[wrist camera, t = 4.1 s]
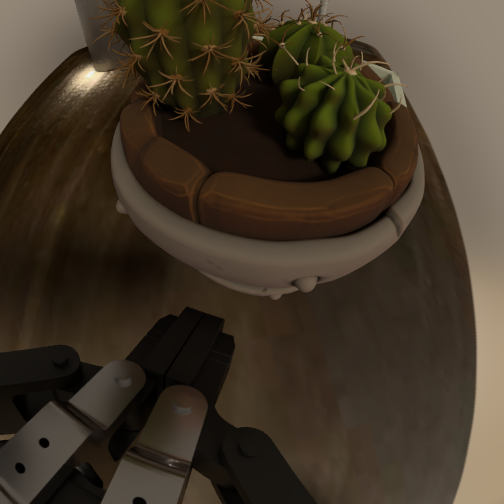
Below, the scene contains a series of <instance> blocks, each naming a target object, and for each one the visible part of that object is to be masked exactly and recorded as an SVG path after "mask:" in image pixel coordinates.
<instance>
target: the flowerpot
mask: <svg viewBox="0 0 504 504" xmlns="http://www.w3.org/2000/svg"><path fill="white" fill-rule="evenodd" d="M108 1H113V0H107V1H105V0H103V2H104V3H105V4H106V5H107V7H110V8H112V9H107V7H106V8H103V7H100V6H97V5H96V6H97V7H99V8H100V9H103V10H102V11H101V12H103V11H104V10H107V11H110V15H106V16H101V17H95V18H89V19H100V18H106V17H109V19H108V20H107V21H106V22H105V23H104V24H103V25H101V24H100V23H99V22H98V23H99V25H100V26H102V27H104V28H106V29H109V30H101V31H109V32H106V33H104V34H103V35H101V36H100V37H99V38H101V37H102V36H104V35H105V34H107V35H106V36H108V35H109V34H111V33H112V34H111V36H112V37H111V36H110V38H109V40H108V43H109V46H108V50H109V48H110V43H111V39H113V36H114V35H115V34H116V39H117V40H116V41H115V42H113V43H112V44H111V46H112V45H113V44H115V43H117V42H119V41H122V40H123V41H124V43H123V45H122V48H123V46H124V47H125V44H127V46H128V47H129V49H130V52H131V54H129V53H128V52H126V51H125V50H124V49H123V50H124V51H125V53H126V55H124V54H121V51H122V48H121V50H120V53H119V52H117V51H115V50H113V49H112V50H113V51H114V52H116V53H117V54H120V55H122V56H124V57H129V59H128V60H125V61H121V60H120V59H119V58H118V59H119V61H121V62H119V63H116V64H120V63H121V64H122V63H123V64H125V63H124V62H127V61H129V62H128V63H126V64H125V65H123V64H122V66H121V67H119V68H116V69H114V70H118V69H120V68H122V67H127V68H128V69H123V70H121V71H125V70H127V71H125V72H123V73H121V74H124V73H126V72H127V73H126V79H125V81H124V84H125V82H126V80H127V78H128V76H129V75H130V74H132V73H133V74H134V71H135V73H136V71H137V72H138V73H137V74H140V75H141V76H142V77H143V78H144V80H142V81H141V82H140V80H141V79H142V77H141V78H140V80H139V82H140V83H139V82H138V85H137V86H136V87H135V89H134V90H133V92H132V94H131V99H130V104H129V105H127V106H126V107H125V108H124V109H123V110H122V112H121V116H120V121H119V123H118V125H117V128H116V130H115V134H114V137H113V142H112V148H111V171H112V177H113V182H114V185H115V189H116V192H117V195H118V197H119V199H118V201H117V204H116V209H117V211H118V212H119V213H122V214H128V215H129V217H130V218H131V220H132V221H133V223H134V224H135V225H136V226H137V227H138V229H139V230H140V231H141V232H142V233H143V234H144V235H145V236H147V237H148V238H149V239H150V240H151V241H152V242H154V243H155V244H156V245H157V246H159V247H160V248H161V249H163V250H164V251H166V252H167V253H169V254H170V255H172V256H173V257H175V258H176V259H178V260H180V261H181V262H183V263H185V264H187V265H189V266H191V267H193V268H195V269H197V270H198V271H199V272H201V273H202V274H203V275H205V276H206V277H208V278H210V279H211V280H213V281H215V282H216V283H218V284H220V285H222V286H224V287H227V288H229V289H232V290H235V291H238V292H241V293H245V294H249V295H255V296H269V297H270V298H271V299H273V300H277V299H279V298H280V297H281V295H282V294H288V293H292V292H295V291H297V290H300V291H302V292H309V291H311V290H313V289H314V287H315V285H316V284H320V283H325V282H328V281H332V280H335V279H338V278H340V277H342V276H345V275H347V274H349V273H351V272H353V271H355V270H356V269H358V268H360V267H362V266H363V265H365V264H367V263H368V262H370V261H371V260H373V259H375V258H376V257H377V256H379V255H380V254H382V253H383V252H384V251H386V250H387V249H388V248H389V247H390V246H392V245H393V244H394V243H395V242H396V241H397V240H398V239H399V238H400V236H401V234H402V233H403V232H404V230H405V229H406V227H407V226H408V224H409V223H410V221H411V220H412V218H413V217H414V215H415V213H416V211H417V209H418V207H419V205H420V203H421V200H422V197H423V193H424V165H423V159H422V155H421V151H420V148H419V145H418V140H417V134H416V129H415V126H414V122H413V119H412V117H411V114H410V112H409V110H408V109H407V107H406V106H404V105H403V104H401V100H402V97H401V99H400V103H398V102H395V101H394V98H393V96H392V94H391V92H390V90H389V89H388V87H389V86H394V85H401V86H406V85H403V84H398V83H392V84H386V85H385V83H384V82H383V81H382V80H384V79H385V78H386V77H387V76H388V75H389V74H388V75H387V76H386V77H384V78H383V79H381V78H380V77H379V76H378V75H377V74H376V73H375V72H374V71H373V70H372V69H371V68H370V67H369V66H368V65H369V64H373V63H383V64H387V63H384V62H379V61H370V62H366V63H364V62H363V55H362V60H361V59H359V58H358V56H355V55H353V53H352V49H351V47H350V45H349V44H350V43H351V42H353V41H354V40H356V39H357V38H360V37H363V36H360V37H357V38H354V39H353V40H351V41H350V42H347V41H346V39H347V37H346V32H345V30H344V32H345V36H344V37H345V38H344V37H343V35H341V34H339V33H338V32H337V31H336V30H334V29H333V22H335V21H337V20H332V21H329V20H331V19H333V18H334V17H337V16H339V15H337V16H333V17H331V18H330V19H328V20H327V21H326V22H325V23H324V20H323V18H324V17H325V16H327V15H328V14H327V15H316V14H317V11H318V10H319V8H320V7H321V6H323V5H321V4H322V3H324V2H322V3H321V4H319V5H318V6H317V7H316V8H315V10H314V13H313V8H312V6H311V4H310V3H309V2H308V1H307V0H306V1H307V2H308V3H309V5H310V7H308V8H309V9H310V8H311V9H310V11H311V17H310V18H307V19H306V17H307V15H308V13H307V14H306V17H305V18H304V15H303V12H304V10H306V9H307V8H306V9H304V10H303V11H302V9H301V14H300V16H299V17H298V20H294V19H292V18H291V17H289V18H290V19H292V20H291V21H287V22H285V21H283V14H284V12H286V11H284V12H283V13H282V15H281V21H279V20H277V21H279V25H274V26H278V27H277V28H276V29H274V30H272V31H271V32H270V33H268V32H267V31H266V30H265V28H264V27H274V26H264V25H270V24H274V23H269V24H264V23H266V22H267V21H269V20H270V18H271V17H270V18H269V19H268V20H266V19H267V18H268V17H269V16H270V15H271V12H272V11H271V12H270V14H269V15H268V17H267V18H266V19H265V20H266V21H265V20H263V21H265V22H263V21H260V20H261V17H260V14H259V19H257V18H255V15H254V14H257V13H260V12H264V11H266V10H268V9H269V8H268V9H265V10H262V11H258V12H253V8H252V1H253V0H115V1H113V2H111V3H110V4H108V3H106V2H108ZM258 1H259V0H258ZM264 1H266V0H264ZM103 2H101V3H103ZM255 2H256V0H255ZM266 2H267V3H269V2H268V1H266ZM326 2H327V1H326ZM114 3H115V5H116V7H114V6H115V5H114V6H113V7H112V6H110V5H112V4H114ZM259 3H260V4H261V2H260V1H259ZM256 4H257V2H256ZM269 4H270V3H269ZM270 5H271V4H270ZM320 5H321V6H320ZM261 6H262V8H263V5H262V4H261ZM271 6H272V5H271ZM319 6H320V7H319ZM257 7H258V4H257ZM112 11H115V12H112ZM101 12H100V13H101ZM111 13H113V14H111ZM113 15H114V16H113ZM301 15H302V17H303V19H302V20H300V17H301ZM110 16H111V18H110ZM115 16H116V19H115V21H114V24H113V22H112V24H113V26H112V28H107V27H105V26H104V25H105V24H106V23H107V22H108V21H109V20H111V21H112V18H114V17H115ZM318 16H323V17H322V18H321V20H320V21H319V22H317V21H315V17H318ZM286 17H288V16H286ZM309 19H311V20H309ZM256 20H257V21H256ZM274 20H276V19H274ZM322 20H323V23H321V21H322ZM331 22H332V27H329V26H327V23H331ZM337 22H339V21H337ZM340 24H341V23H340ZM262 25H263V26H262ZM102 27H101V28H102ZM114 27H115V28H114ZM262 27H263V28H262ZM101 28H100V29H101ZM100 29H99V30H100ZM258 30H259V31H258ZM260 30H261V31H262V32H264V31H265V32H266V33H267V35H266V33H265V32H264V34H265V35H264V34H255V32H257V31H258V33H259V32H260ZM263 30H264V31H263ZM108 33H109V34H108ZM117 35H119V37H120V39H121V40H120V39H118V37H117ZM253 35H257V37H258V35H263V36H264V38H263V39H262V41H261V40H258V39H255V38H252V37H253ZM106 36H104V37H103V38H105V37H106ZM99 38H97V39H96V40H95V41H97V40H98V39H99ZM103 38H102V39H103ZM95 41H94V42H95ZM109 41H110V42H109ZM94 42H93V43H94ZM93 43H92V44H93ZM119 43H120V42H119ZM361 54H362V52H361ZM117 57H118V56H117ZM128 64H130V65H128ZM126 65H127V66H126ZM388 65H389V64H388ZM390 66H391V65H390ZM114 70H112V71H114ZM121 74H118V75H116V76H114V77H117V76H119V75H121ZM137 74H134V75H132V76H135V78H136V80H137V77H138V76H140V75H138V76H137V77H136V75H137ZM132 76H131V77H132ZM114 77H111V78H114ZM129 78H130V77H129ZM135 78H134V79H135ZM109 79H110V78H109ZM134 79H133V80H134ZM133 80H132V81H133ZM137 81H138V80H137ZM124 84H123V87H124ZM406 87H408V86H406ZM400 96H401V95H400Z"/></svg>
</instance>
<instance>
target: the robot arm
mask: <svg viewBox="0 0 504 504" xmlns="http://www.w3.org/2000/svg"><path fill="white" fill-rule="evenodd" d="M105 1H107V0H105ZM113 1H115V0H113ZM113 1H108V2H106V3H108V4H110V3H111V2H113ZM101 2H103V0H75V4H76V8H77V12H78V15H79V19H80V22H81V26H82V29H83V33H84V36H85V39H86V43H87V46H88V49H89V52H90V55H91V58H92V61H93V64H94V67H95V70H96V71H108V70H112V69H115V68H118V67H121V66H122V64H123V63H122V64H121V63H120V64H116V63H119V62H121V61H125V60H128V59H129V57H124V56H122V55H120V54H117V53H116V52H114V51H113V50H115V51H117V52H119V53H120V50H121V48H122V45H123V43H124V41H123V40H122V41H119V42H120V43H119V42H117V43H115V44H113V45H112V46H111V44H112V43H113V42H115V41H116V40H117V39H116V34H115V35H114V36H113V39H111V43H110V48H109V50H108V46H109V43H108V40H109V38H110V36H111V34H112V33H111V34H109V33H108V34H109V35H108V36H106V35H107V34H105V35H104V36H106V37H105V38H103V37H104V36H102V37H101V38H99V37H100V36H101V35H103V34H104V33H106V32H109V31H101V30H109V29H106V28H104V27H102V26H100V25H99V23H100V24H101V25H103V24H104V23H105V22H106V21H107V20H108V19H109V17H106V18H100V19H89V18H95V17H101V16H106V15H110V11H107V10H104V11H103V12H101V11H102V10H103V9H100V8H99V7H97V6H100V7H103V8H106V7H107V5H106V4H105V3H104V2H103V3H101ZM96 5H97V6H96ZM114 5H115V3H114V4H112V5H110V6H112V7H113V6H114ZM114 7H116V5H115V6H114ZM107 9H112V8H110V7H107ZM100 12H101V13H100ZM112 12H115V11H112ZM111 14H113V13H111ZM113 16H114V15H113ZM110 18H111V16H110ZM115 19H116V16H115V17H114V18H112V21H111V20H109V21H108V22H107V23H106V24H105V25H104V26H105V27H107V28H112V26H113V24H114V21H115ZM98 22H99V23H98ZM112 22H113V24H112ZM101 27H102V28H101ZM100 28H101V29H100ZM114 28H115V27H114ZM99 29H100V30H99ZM111 37H112V36H111ZM117 37H118V39H120V37H119V35H117ZM97 38H99V39H98V40H97V41H95V40H96V39H97ZM102 38H103V39H102ZM120 40H121V39H120ZM94 41H95V42H94ZM93 42H94V43H93ZM109 42H110V41H109ZM92 43H93V44H92ZM112 49H113V50H112ZM123 49H124V50H125V51H126V52H128V53H129V54H131V52H130V49H129V47H128V46H127V44H125V47H124V46H123V48H122V51H121V54H124V55H126V53H125V51H124V50H123ZM117 56H118V57H117ZM118 58H119V59H120V60H121V61H119V59H118ZM128 62H129V61H127V62H124V63H125V64H126V63H128ZM125 64H123V65H125ZM224 321H225V320H224V319H222V318H219V317H216V316H213V315H210V314H207V313H206V314H205V313H204V312H201V311H198V310H196V309H193V308H190V307H186V308H185V309H184V310H183V312H182V313H181V314H180V315H179V317H177V316H174V315H172V314H170V315H168V316H165V317H163V318H161V319H159V320H158V322H157V323H156V324H155V325H154V326H153V328H152V329H151V330H150V331H149V332H148V333H147V335H145V337H144V338H143V339H142V340H141V341H140V342H139V344H138V345H137V346H136V347H135V348H134V350H133V351H132V352H131V353H130V354H129V355H128V357H127V358H126V359H125V360H115V361H112V362H110V363H108V364H107V365H106V366H105V367H100V366H96V365H92V364H88V363H84V362H81V361H80V357H79V355H78V353H77V352H76V351H75V350H74V349H73V348H71V347H69V346H66V345H54V346H48V347H41V348H34V349H27V350H20V351H12V352H3V353H0V435H5V434H15V435H14V436H13V437H12V438H11V439H10V440H1V441H0V504H182V502H183V499H184V495H185V491H186V488H187V485H188V482H189V478H190V475H191V472H192V468H194V469H195V470H196V471H198V472H199V473H201V474H202V475H204V476H205V477H207V478H208V479H210V480H211V483H212V485H213V487H214V489H215V491H216V493H217V495H218V497H219V499H220V500H221V502H222V504H317V503H316V502H315V500H314V499H313V498H312V497H311V495H310V494H309V493H308V491H307V490H306V489H305V487H304V486H303V484H302V483H301V482H300V480H299V479H298V478H297V476H296V475H295V473H294V472H293V470H292V469H291V468H290V466H289V465H288V463H287V462H286V460H285V459H284V457H283V456H282V455H281V453H280V452H279V450H278V449H277V447H276V446H275V444H274V442H273V441H272V440H271V438H270V437H269V436H268V435H267V434H265V433H264V432H262V431H260V430H258V429H255V428H251V427H241V428H236V427H234V426H233V425H231V424H229V423H228V422H226V421H225V420H224V419H223V418H221V417H220V415H219V414H218V413H217V411H216V409H215V404H216V402H217V399H218V397H219V394H220V391H221V389H222V387H223V384H224V382H225V379H226V376H227V374H228V371H229V367H230V363H231V360H232V356H233V353H234V349H235V343H234V338H233V336H232V335H228V334H225V333H222V331H223V326H224ZM48 390H49V391H48ZM35 392H36V393H35ZM28 393H29V394H28Z"/></svg>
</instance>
